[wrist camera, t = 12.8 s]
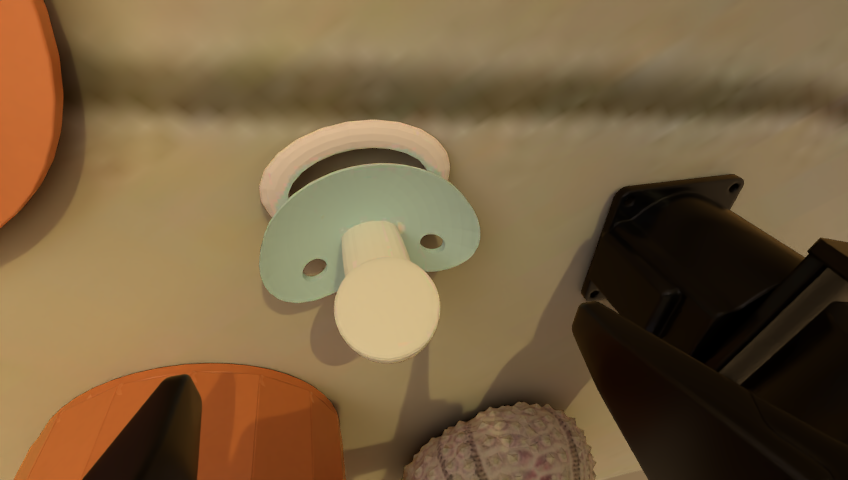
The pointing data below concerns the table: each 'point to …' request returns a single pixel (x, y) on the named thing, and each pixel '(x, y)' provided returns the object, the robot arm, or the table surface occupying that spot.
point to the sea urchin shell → (507, 448)
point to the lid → (27, 102)
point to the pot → (204, 426)
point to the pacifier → (367, 234)
